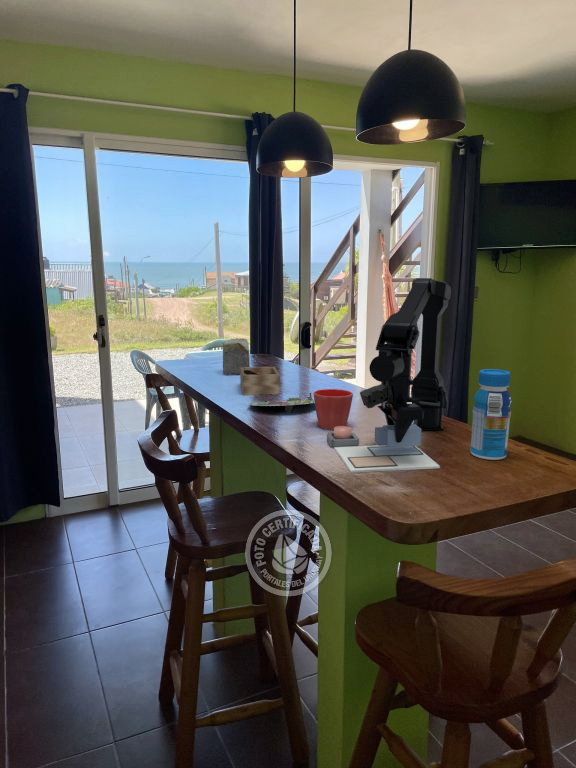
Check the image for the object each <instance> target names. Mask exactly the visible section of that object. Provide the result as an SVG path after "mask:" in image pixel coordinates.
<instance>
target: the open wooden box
mask: <svg viewBox="0 0 576 768" xmlns="http://www.w3.org/2000/svg"><path fill="white" fill-rule="evenodd" d="M244 370H250V371H252V372H258V373H260V374H262V375H247V374H244ZM239 375H240V376H239V377H240V378H239V379H240V381H239V382H240V385H241V386H240V389H241V393H242V396H260V395H259V394H264V395H263V396H266V395H265V394H272V395H280V394H281V374H280V373H279V371H278V370H277V367H275V366H252V367H251V366H250V367H240V374H239Z"/></svg>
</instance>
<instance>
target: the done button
mask: <svg viewBox="0 0 576 768" xmlns="http://www.w3.org/2000/svg"><path fill="white" fill-rule="evenodd" d="M352 429H353V428H352V427H350V426H347V425H346V426H336V427H334V430H333V432H334V439H351V436H352V433H353V431H352Z"/></svg>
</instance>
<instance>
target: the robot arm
mask: <svg viewBox="0 0 576 768" xmlns="http://www.w3.org/2000/svg"><path fill="white" fill-rule="evenodd" d="M451 288H452V287H451V286H450V284H448V283H447V282H446V281H439V280H436V279H433V278H431V277H425V278H424V277H421V278H419V277H417V278H414V279H412V282H411V288H410V289H409V291H408V293H407V295H406V297H405V299H404V301H403V303H402V305H401V307H400V309H399V310H398V311H397V312H395V313H393V314H391V315H390V316H389V317H388V318H387V319H386V321H385V322H384V323H383V325H382V327H381V330H380V333H379V336H378V340H377V343H376V345H375V350H376V351H378V355H377V356H375V357H374V358H372V360H371V361H370V364H369V372H370V375H371V377H372V378H373V380H375V381H377V382H379V383H380V384H377V385H374V386H371V387H368V388H366V389H364V390H361V391H360V392H359V395H360V397H361V400H362V404H363V406H365V407H366V408H367V409H372V408H375V407H376V406H377V408H378V409H379V410H380V411H381V412H382V413H383V414H384V417H385V420H386V421H385V422H386V425H394V430H395V439H396V442H397V443H400V442H401V441H402V439H403V438H404V436H405V434H406V432H407V430H408V429H409V427H410V425H411V424H415V425H417V426H418V427H419V428H421V432H422V431H443V430H445V429H444V427H443V426H442V421H443V420H442V418H443V409H447V408H448V403H449V402H448V399H449V397H448V394H447V391H446V388H445V384H444V378H443V376H442V374H441V372H440V370H439V357H440V356H439V355H440V342H441V341H440V339H441V326H442V324H441V323H442V314H443V313H444V312H445V311H446V309H447V308H448V306H449V300H450V299H451V295H452V289H451ZM421 316H422V331H421V345H420V347H421V348H420V349H421V351H420V367H419V371H418V372H417V374H416V375H415V376H414V377H413V379H411V375H412V359H413V358H412V355H413V352H414V349H415V348H416V345H417V342H418V340H419V338H420V337H419V336H420V330H419V326H418V321H419V319H420V317H421Z"/></svg>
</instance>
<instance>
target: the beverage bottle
mask: <svg viewBox="0 0 576 768" xmlns="http://www.w3.org/2000/svg"><path fill="white" fill-rule="evenodd" d="M477 383H478V385H479V386H480V387H479V388H478V390H477V391H476V392H475V395H474V397H473V402H474V405H473V407H472V411H471V412H472V420H471V421H472V422H471V423H472V425H471V436H470V437H471V439H470V440H471V441H470V447H469V448H470V449H469V451H470V454H471V455H473V456H474V457H476V458H478V459H483V460H489V461H490V460H491V461H499V460H503V459H506V457H507V455H508V444H509V443H508V442H509V441H508V440H509V432H510V421H511V420H510V419H511V417H512V410H511V405H512V403H513V402H512V401H513V400H512V397H511V395H510V392H509V390H508V389H507V388H509V387H510V385H511V384H510V383H511V372H510V371H508V370H504V369H496V368H495V369H494V368H487V369H480V370H479V372H478V382H477Z"/></svg>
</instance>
